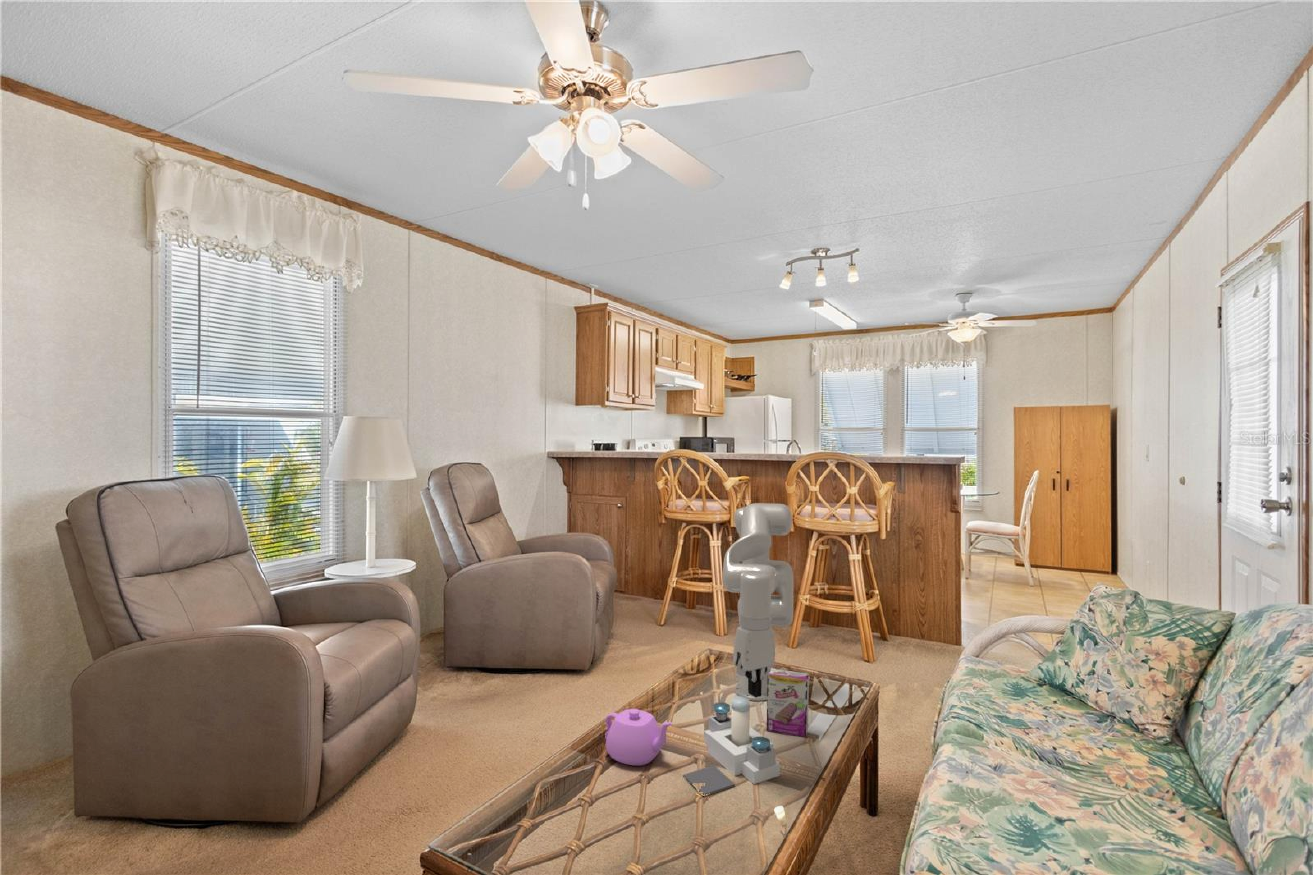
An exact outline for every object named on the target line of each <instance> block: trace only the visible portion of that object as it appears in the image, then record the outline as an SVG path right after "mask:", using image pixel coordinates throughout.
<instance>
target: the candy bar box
mask: <svg viewBox="0 0 1313 875" xmlns="http://www.w3.org/2000/svg"><path fill="white" fill-rule="evenodd" d="M809 691H810V673H807V672H799V671H793V670H792V671H791V670H785V669H779V668H774V667H772V668H771V669H770V670H769V672H768V681H767V700H766V732H773V733H778V734H783V735H790V736H794V737H795V736H796V737H801V738H807V735H808V731H809V702H810V701H809V699H810V698H809V696H810V695H809V693H810V692H809Z"/></svg>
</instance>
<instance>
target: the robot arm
mask: <svg viewBox="0 0 1313 875" xmlns="http://www.w3.org/2000/svg"><path fill="white" fill-rule="evenodd" d="M733 520H734V526H735V529H736V532H737V534H738V536H739V538H738V539H737V540H736V541H735V542H733V543H732V544H731V545H730V546H729V547H728V549H727V550H726V552H725V554H724V556H723V557H724V558H723V566H722V575H721V576H722V585H723V587H724V589H725V590H726V591H728V592H729V593H735V594H740V595H739V596H740V598H738V600H737V614H738V621H739V622H738V623H739V626H738V627H737V628H736V631H735V636H734V643H733V656H732V658H733V666H736V671H735V675H734V677H735V678H736V679H738V683H737V684H736V685H735V687H734V692H735V694H736V695H737V696H741V697H746V698H748V699H749V700H750V701H755V702H758V701H767V681H768V672H769V670H770V669H771V668H774V663H775V659H776V647H775V646H776V645H775V644H776V642H775V636H774V630H773V627H788V626H790V625H792V623H793V620H794V573H793V569H792V566H791V564H790V563H789V562H787V561H783V560H772V559H770V548H771V547H772V536H787V535H788V534H789V533H790V532H791V529H792V527H793V515H792V510H791V509H790V507H789V506H788V505H787V504H783V503H770V502H769V503H768V502H767V503H766V502H765V503H764V502H762V503H761V502H759V503H758V502H754V503H751V504H748V505H746V506H745V507H740V508H738V509H736V510H735V512H734V515H733ZM774 592H777V593H778V594H779V595H778V594H773V593H774Z"/></svg>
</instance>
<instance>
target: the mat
mask: <svg viewBox="0 0 1313 875" xmlns="http://www.w3.org/2000/svg"><path fill="white" fill-rule="evenodd" d="M683 776H684V777H685V778H686V780H687V781H688V782H690V783H691V784H693V783H697V784H698V783H705V786H701V789H699V792H703V793H702V794H703V795H704V794H705V795H706V794H709V793H710V794H711V795H714V794H716V793H720V792H722V791H726V790H729V789H731V788H734V787H736V783H735V782H734V781H732V780H731V779H730V778H729V777H728V776H727V775H726V774H725V773H723V772H722V771H721V770H720V769H719V768H717V766H715V765H713V764H712V765H710V766H707V767H705V768H704V767H703V768H700V769H696V770H695V771H694V770H693V771H690V772H687V773H685V774H683V775H682V777H683ZM686 780H685V781H686ZM687 781H686V782H687ZM688 782H687V783H688Z"/></svg>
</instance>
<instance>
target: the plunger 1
mask: <svg viewBox="0 0 1313 875" xmlns="http://www.w3.org/2000/svg"><path fill="white" fill-rule="evenodd" d="M712 707H713V711H714V712H715V715H716V721H718V722H719V723H723V722H726V721H727V716H728V714H729V712H731V706H730V704H729V703H727V702H723V701H721V702H718V701H717V702H715V703H714V704H713V706H712Z"/></svg>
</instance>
